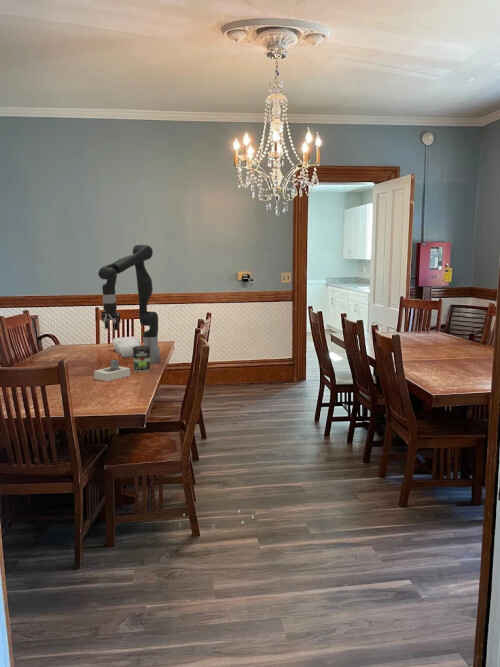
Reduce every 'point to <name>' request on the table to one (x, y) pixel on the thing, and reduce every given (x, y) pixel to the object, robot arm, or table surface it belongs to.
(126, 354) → the wavy white extrusion
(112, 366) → the grey rectangular block
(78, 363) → the table surface
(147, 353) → the coffee can
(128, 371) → the well block
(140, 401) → the table surface
